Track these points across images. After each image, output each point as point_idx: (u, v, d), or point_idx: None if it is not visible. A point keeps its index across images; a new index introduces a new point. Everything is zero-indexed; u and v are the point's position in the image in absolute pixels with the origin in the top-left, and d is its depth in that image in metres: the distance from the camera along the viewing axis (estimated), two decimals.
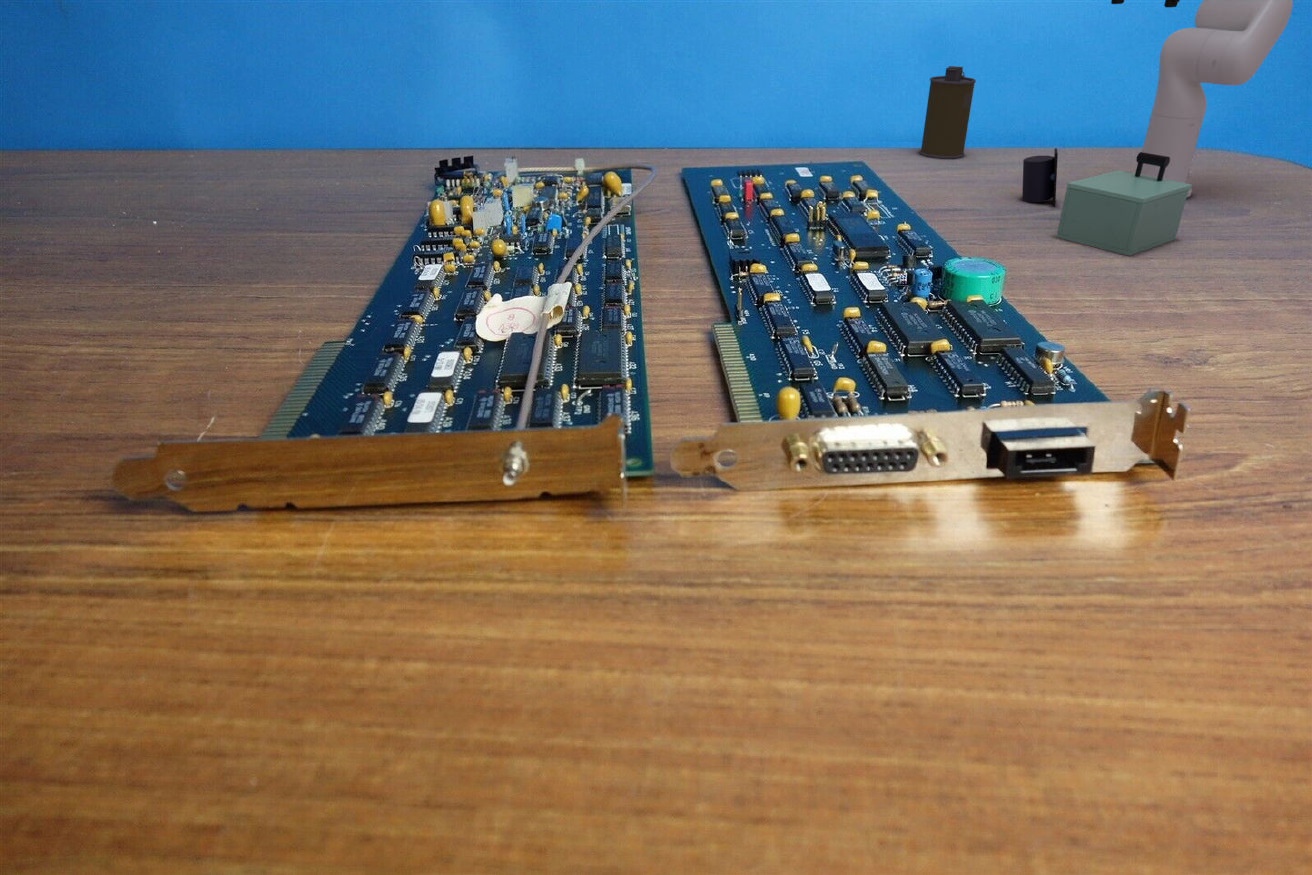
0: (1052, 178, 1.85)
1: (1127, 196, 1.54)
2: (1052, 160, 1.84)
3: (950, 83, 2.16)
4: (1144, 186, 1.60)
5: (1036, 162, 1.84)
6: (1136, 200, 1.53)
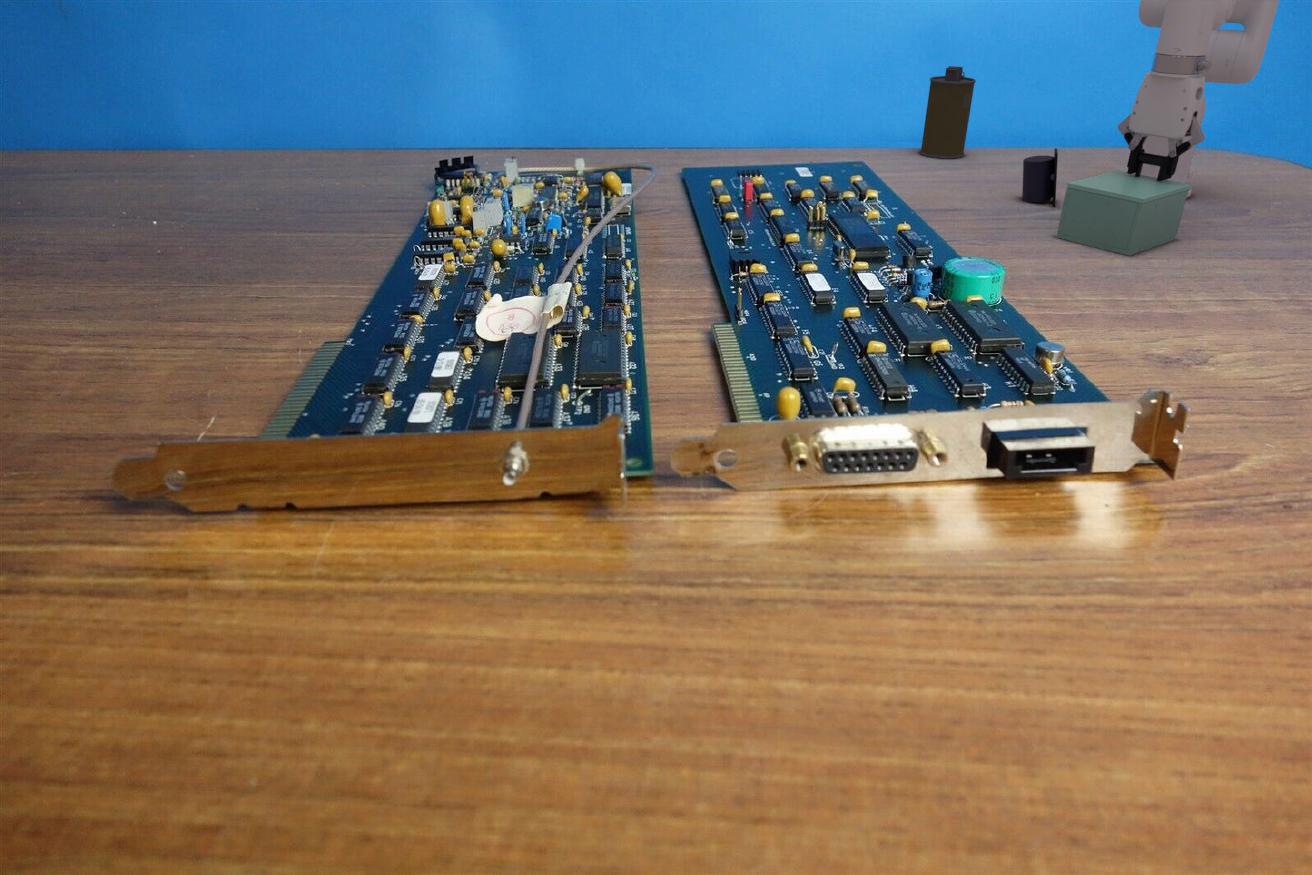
0: (1052, 178, 1.85)
1: (1127, 196, 1.54)
2: (1052, 160, 1.84)
3: (950, 83, 2.16)
4: (1144, 186, 1.60)
5: (1036, 162, 1.84)
6: (1136, 200, 1.53)
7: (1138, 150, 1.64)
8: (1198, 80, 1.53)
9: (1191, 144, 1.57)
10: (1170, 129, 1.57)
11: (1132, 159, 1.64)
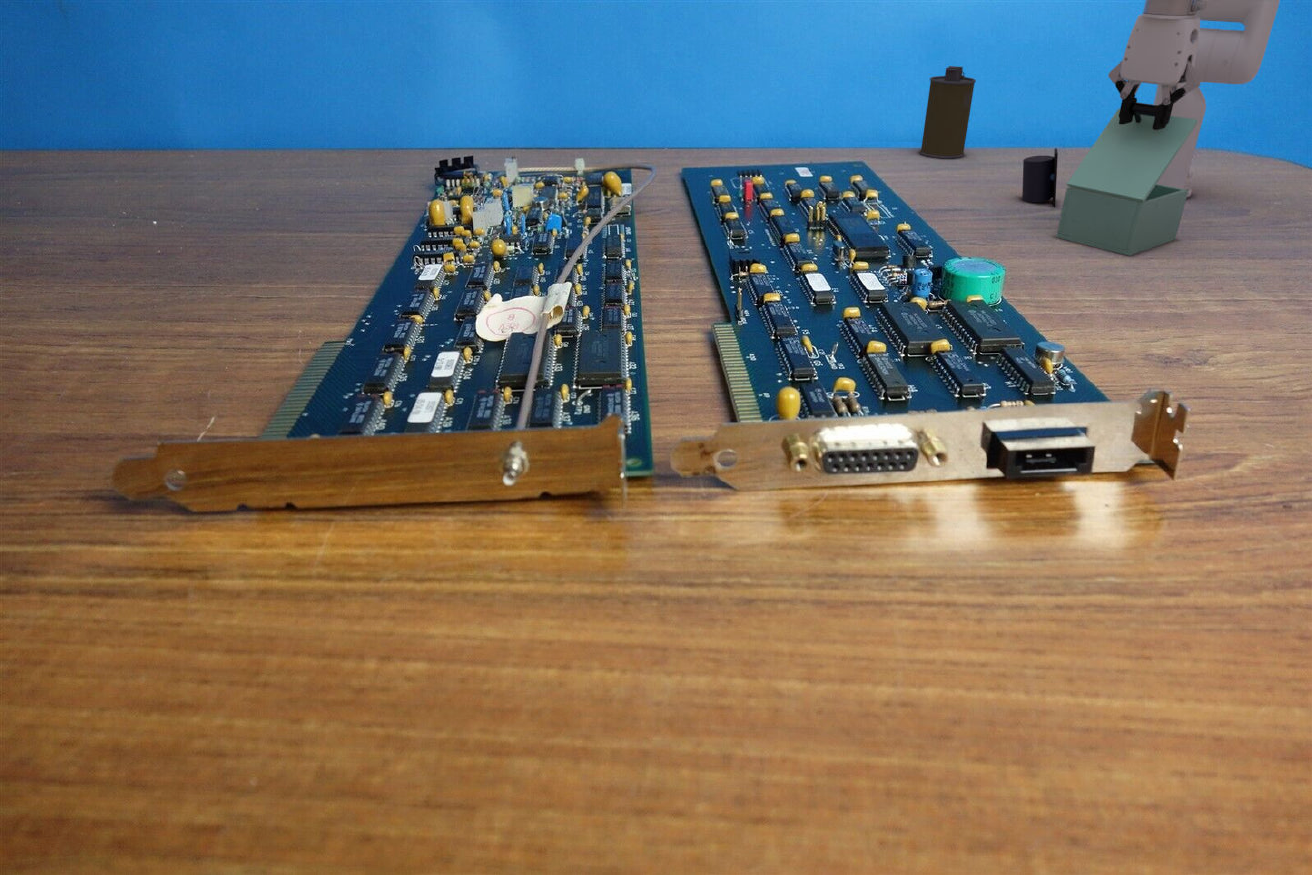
0: (1052, 178, 1.85)
1: (1126, 197, 1.54)
2: (1052, 160, 1.84)
3: (950, 83, 2.16)
4: (1145, 155, 1.56)
5: (1036, 162, 1.84)
6: (1136, 200, 1.53)
7: (1130, 99, 1.56)
8: (1193, 21, 1.45)
9: (1186, 90, 1.49)
10: (1163, 75, 1.49)
11: (1124, 108, 1.56)
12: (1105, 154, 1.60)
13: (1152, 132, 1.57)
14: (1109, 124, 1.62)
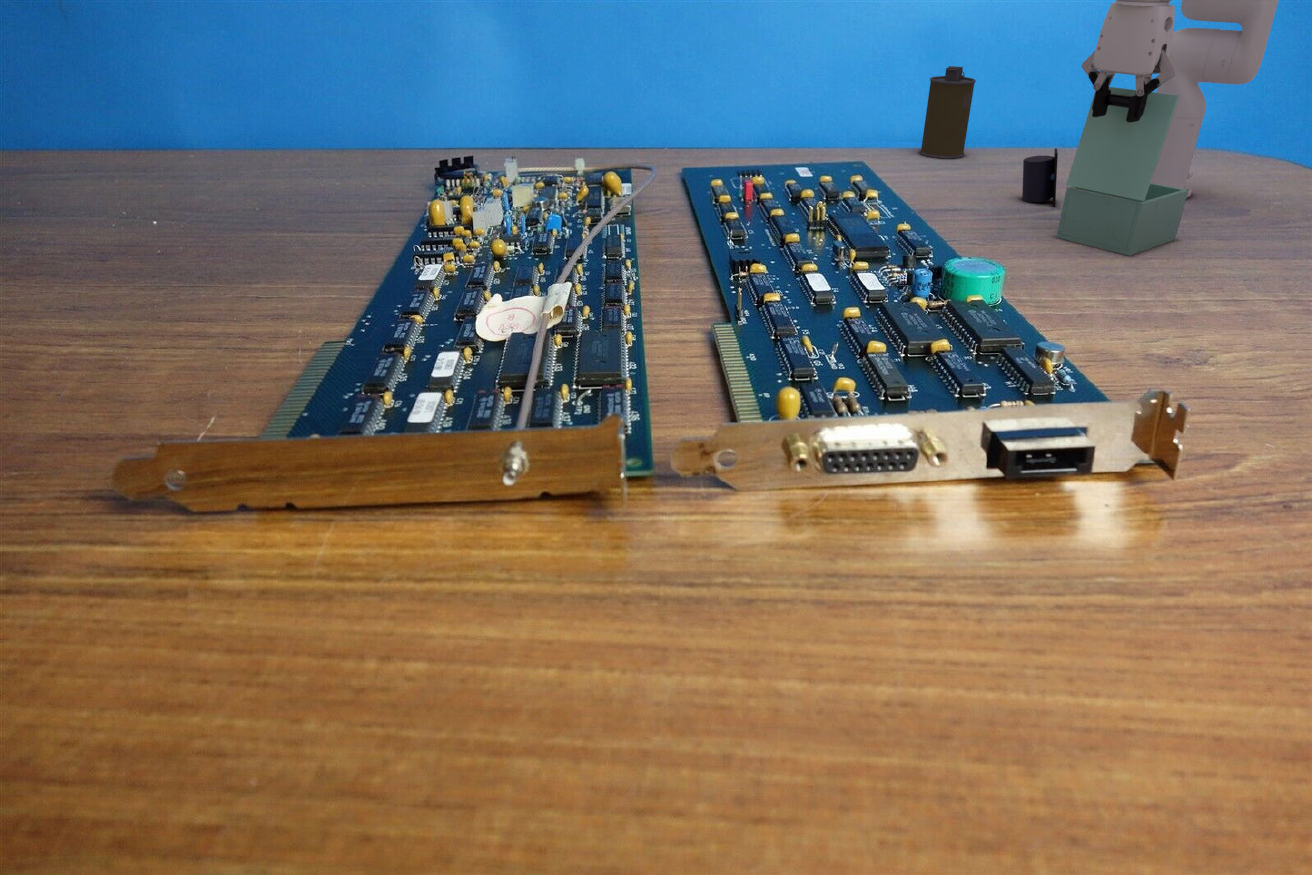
0: (1052, 178, 1.85)
1: (1126, 197, 1.54)
2: (1052, 160, 1.84)
3: (950, 83, 2.16)
4: (1134, 145, 1.52)
5: (1036, 162, 1.84)
6: (1136, 199, 1.53)
7: (1104, 90, 1.50)
8: (1167, 9, 1.39)
9: (1160, 81, 1.43)
10: (1137, 64, 1.43)
11: (1097, 100, 1.50)
12: (1095, 146, 1.57)
13: None
14: None
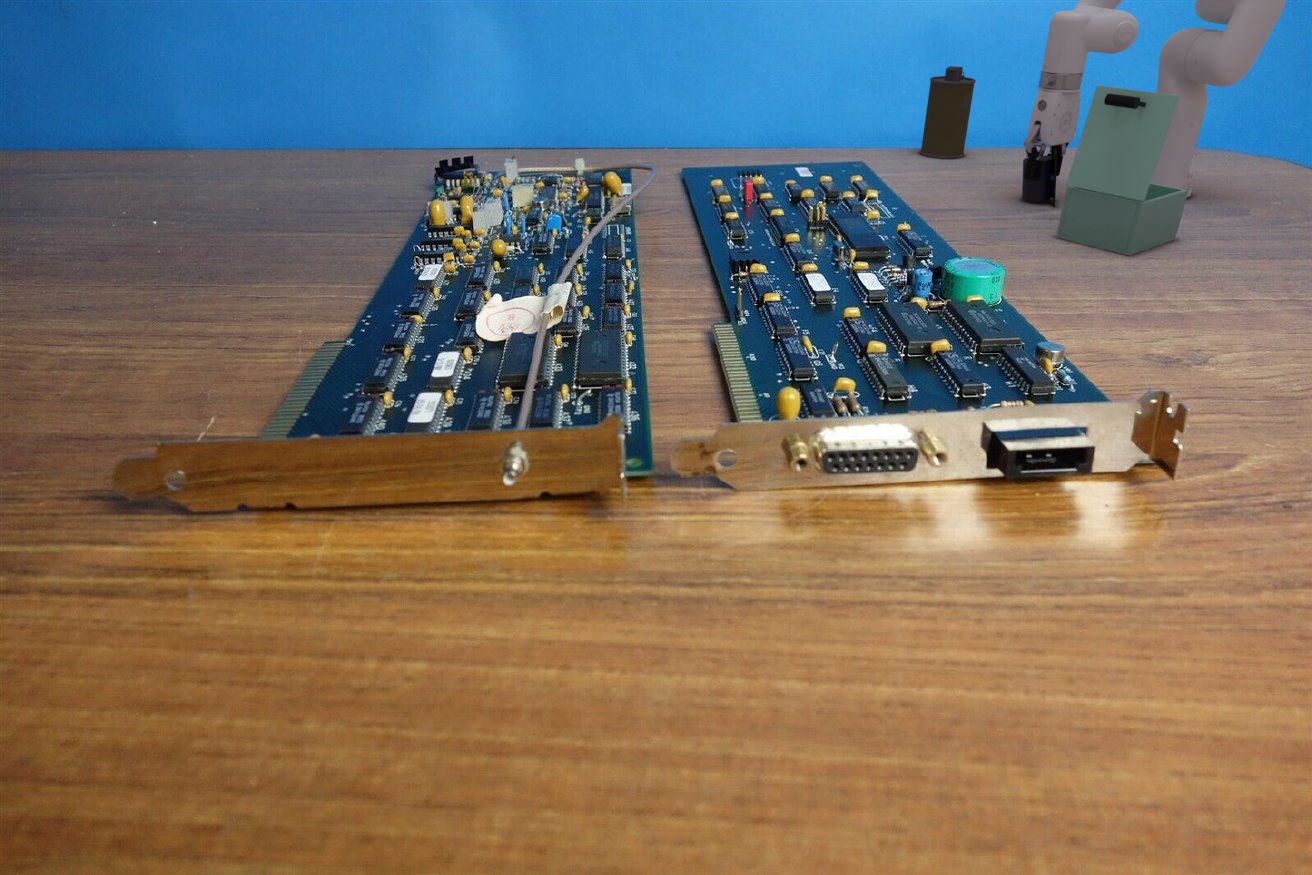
0: (1052, 178, 1.85)
1: (1126, 197, 1.54)
2: (1052, 160, 1.84)
3: (950, 83, 2.16)
4: (1134, 145, 1.52)
5: None
6: (1136, 199, 1.53)
7: (1052, 154, 1.87)
8: (1042, 93, 1.77)
9: None
10: None
11: None
12: (1095, 146, 1.57)
13: (1136, 115, 1.51)
14: (1091, 107, 1.57)
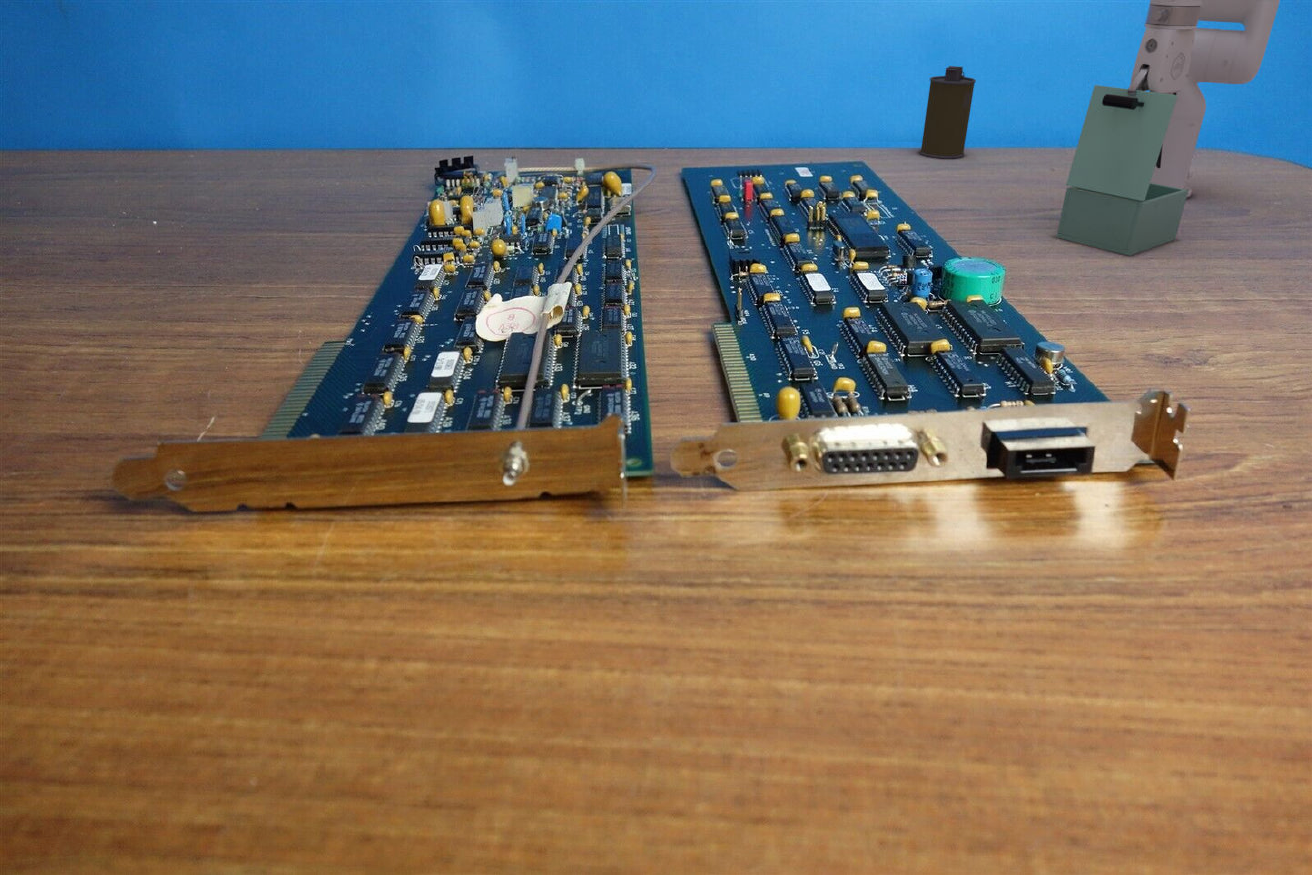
0: None
1: (1126, 197, 1.54)
2: None
3: (950, 83, 2.16)
4: (1133, 145, 1.52)
5: None
6: (1136, 199, 1.53)
7: None
8: (1151, 31, 1.48)
9: None
10: None
11: None
12: (1094, 146, 1.57)
13: (1134, 115, 1.51)
14: (1090, 107, 1.56)
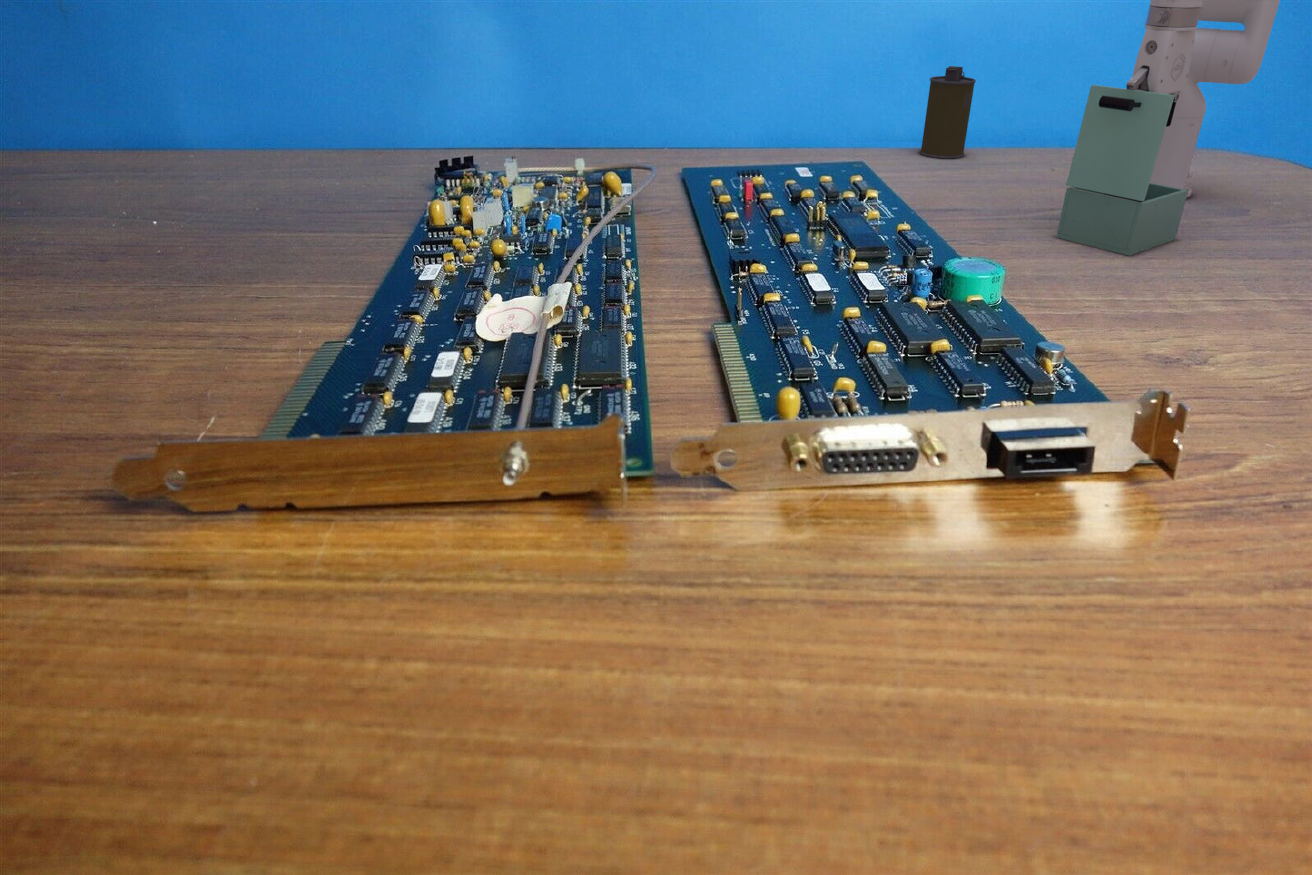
0: None
1: (1126, 197, 1.54)
2: None
3: (950, 83, 2.16)
4: (1131, 145, 1.52)
5: None
6: (1136, 199, 1.53)
7: None
8: (1151, 32, 1.48)
9: None
10: None
11: None
12: (1093, 146, 1.56)
13: (1132, 115, 1.50)
14: (1087, 107, 1.56)
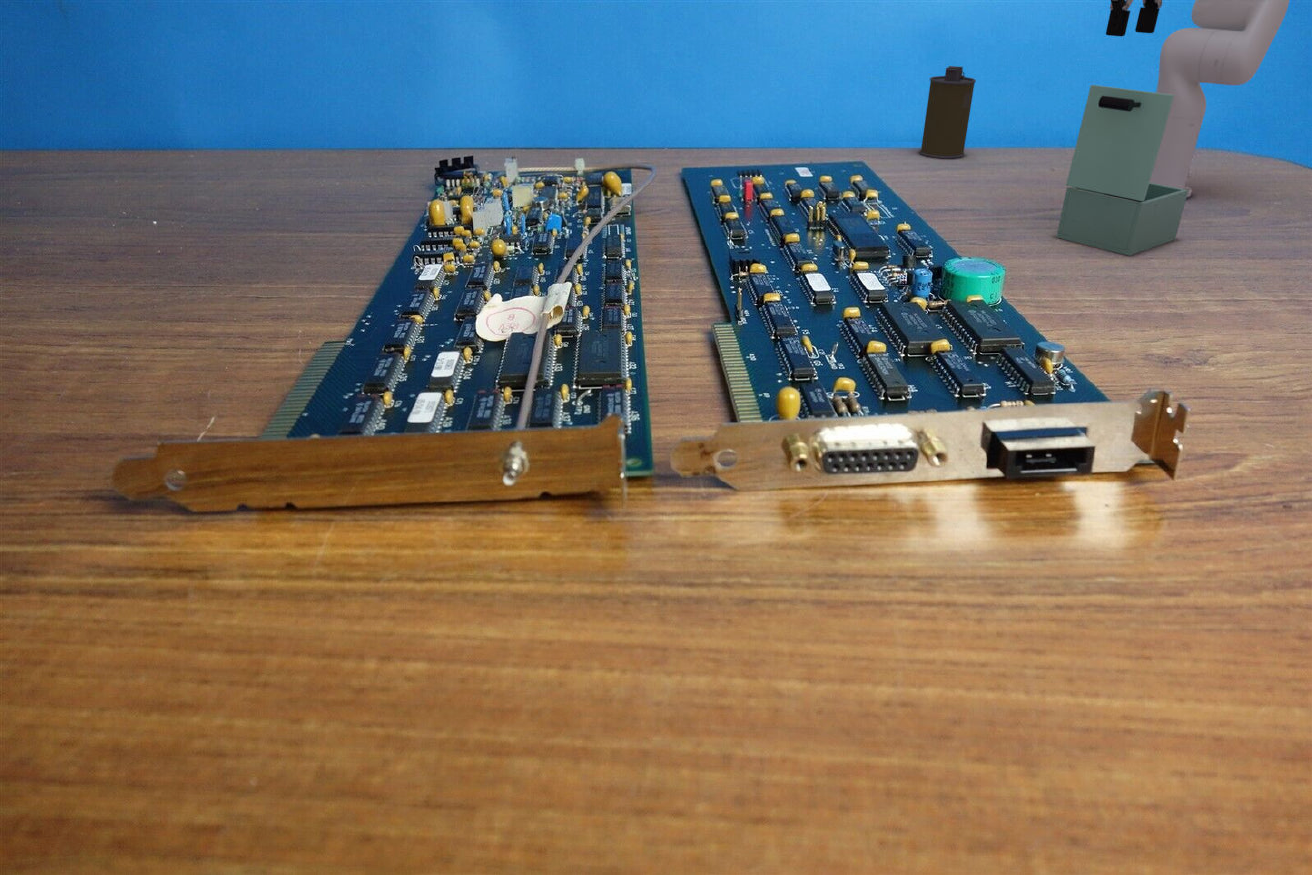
0: None
1: (1126, 197, 1.54)
2: None
3: (950, 83, 2.16)
4: (1131, 145, 1.52)
5: None
6: (1136, 199, 1.53)
7: (1146, 7, 1.63)
8: None
9: None
10: None
11: (1139, 16, 1.65)
12: (1093, 146, 1.56)
13: (1131, 115, 1.50)
14: (1087, 107, 1.56)
